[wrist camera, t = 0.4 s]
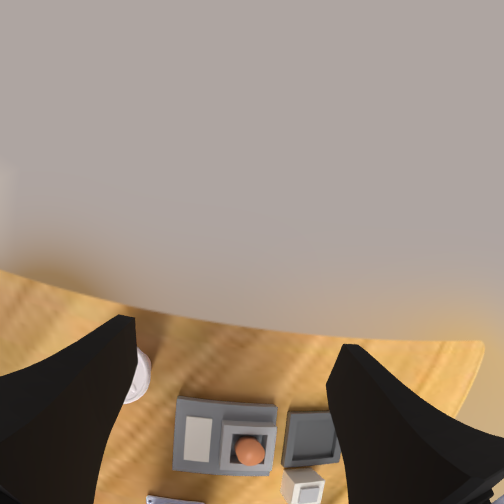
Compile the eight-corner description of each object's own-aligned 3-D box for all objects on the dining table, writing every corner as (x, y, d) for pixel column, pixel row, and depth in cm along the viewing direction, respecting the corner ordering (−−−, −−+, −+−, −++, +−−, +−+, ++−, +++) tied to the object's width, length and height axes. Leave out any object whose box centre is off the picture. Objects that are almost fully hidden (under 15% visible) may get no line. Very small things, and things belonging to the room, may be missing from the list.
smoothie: (160, 339, 33) (136, 337, 20) (164, 390, 31) (144, 417, 18) (111, 339, 32) (64, 335, 19) (115, 388, 30) (71, 411, 17)
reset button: (258, 457, 28) (263, 466, 25) (233, 456, 27) (236, 465, 25) (261, 436, 28) (266, 443, 26) (235, 435, 28) (238, 442, 26)
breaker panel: (265, 470, 30) (273, 483, 26) (173, 463, 28) (170, 478, 24) (273, 404, 33) (283, 411, 29) (178, 395, 31) (175, 402, 27)
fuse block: (306, 489, 30) (321, 505, 24) (279, 491, 29) (291, 509, 24) (310, 467, 31) (326, 481, 26) (283, 469, 30) (296, 485, 25)
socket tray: (334, 459, 32) (338, 462, 30) (280, 463, 31) (283, 467, 29) (342, 409, 34) (346, 411, 33) (287, 411, 33) (290, 413, 32)
